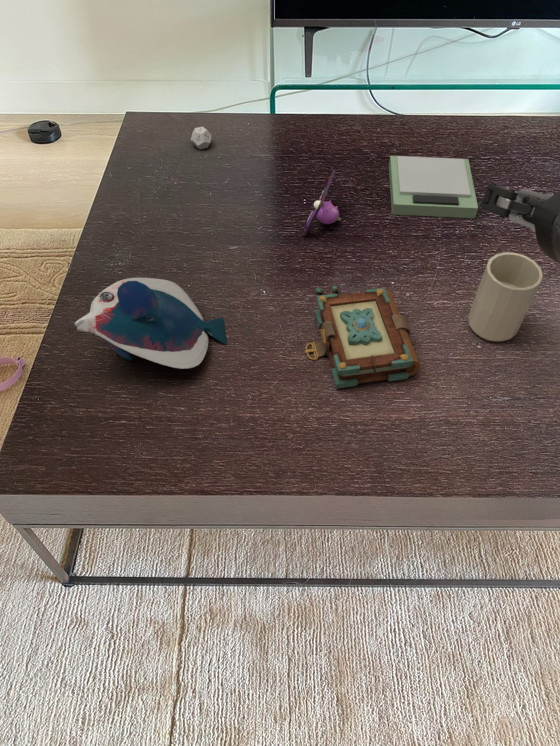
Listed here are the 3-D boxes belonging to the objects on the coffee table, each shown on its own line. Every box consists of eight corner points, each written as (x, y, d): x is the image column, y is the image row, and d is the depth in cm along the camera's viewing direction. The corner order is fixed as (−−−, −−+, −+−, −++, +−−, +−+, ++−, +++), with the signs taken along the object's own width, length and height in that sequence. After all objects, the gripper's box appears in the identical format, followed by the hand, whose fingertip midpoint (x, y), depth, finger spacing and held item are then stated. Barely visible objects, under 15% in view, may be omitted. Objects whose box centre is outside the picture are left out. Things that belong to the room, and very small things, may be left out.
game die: (214, 141, 110) (213, 125, 107) (208, 153, 107) (207, 137, 105) (195, 138, 110) (193, 122, 108) (189, 150, 108) (187, 134, 106)
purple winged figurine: (329, 166, 94) (314, 202, 89) (359, 182, 94) (347, 218, 89) (312, 198, 99) (298, 234, 94) (341, 213, 100) (329, 249, 95)
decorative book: (381, 282, 88) (386, 255, 84) (419, 380, 78) (427, 354, 74) (289, 293, 87) (290, 266, 83) (315, 394, 76) (317, 369, 72)
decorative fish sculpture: (88, 314, 65) (88, 221, 74) (61, 384, 73) (64, 293, 82) (254, 346, 74) (237, 260, 83) (214, 404, 82) (202, 320, 91)
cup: (512, 308, 85) (537, 253, 77) (520, 345, 81) (547, 291, 73) (464, 306, 86) (483, 251, 78) (470, 342, 82) (491, 288, 74)
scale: (465, 169, 105) (469, 155, 103) (475, 218, 97) (479, 204, 95) (388, 165, 105) (390, 152, 103) (391, 214, 98) (394, 200, 96)
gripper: (688, 211, 55) (601, 188, 70) (539, 168, 53) (483, 154, 68) (647, 291, 58) (572, 252, 73) (505, 252, 56) (458, 221, 71)
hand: (529, 205), depth 70 cm, fingers open, 8 cm apart
